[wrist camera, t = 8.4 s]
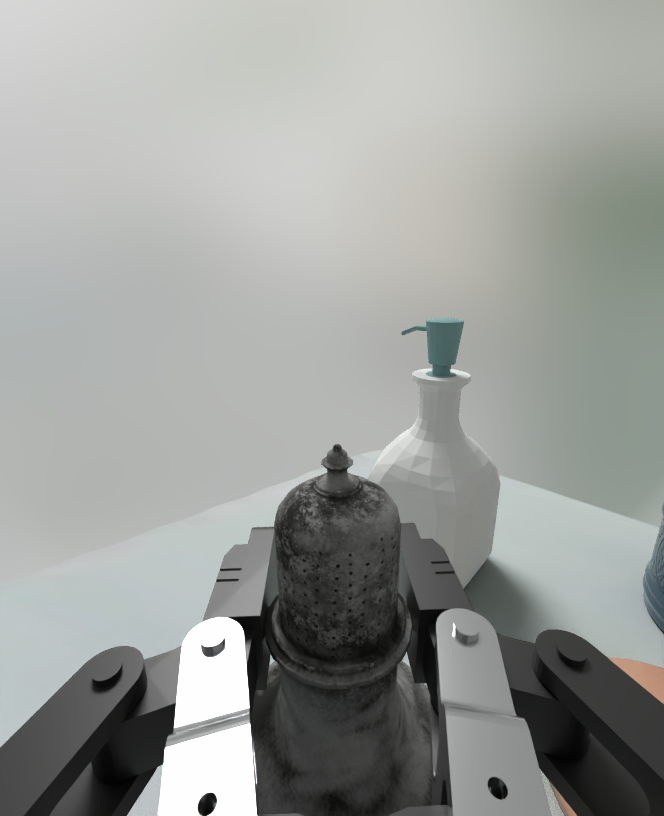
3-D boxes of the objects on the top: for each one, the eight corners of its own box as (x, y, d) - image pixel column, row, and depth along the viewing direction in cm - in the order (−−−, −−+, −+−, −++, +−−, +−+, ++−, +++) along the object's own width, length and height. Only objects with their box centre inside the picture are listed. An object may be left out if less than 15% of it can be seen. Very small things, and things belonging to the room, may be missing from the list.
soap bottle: (410, 520, 45) (421, 311, 38) (497, 557, 39) (529, 316, 32) (357, 564, 38) (358, 320, 31) (451, 617, 32) (480, 328, 25)
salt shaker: (485, 893, 10) (558, 480, 7) (262, 1038, 8) (201, 564, 5) (381, 689, 16) (391, 396, 12) (228, 749, 14) (187, 420, 10)
